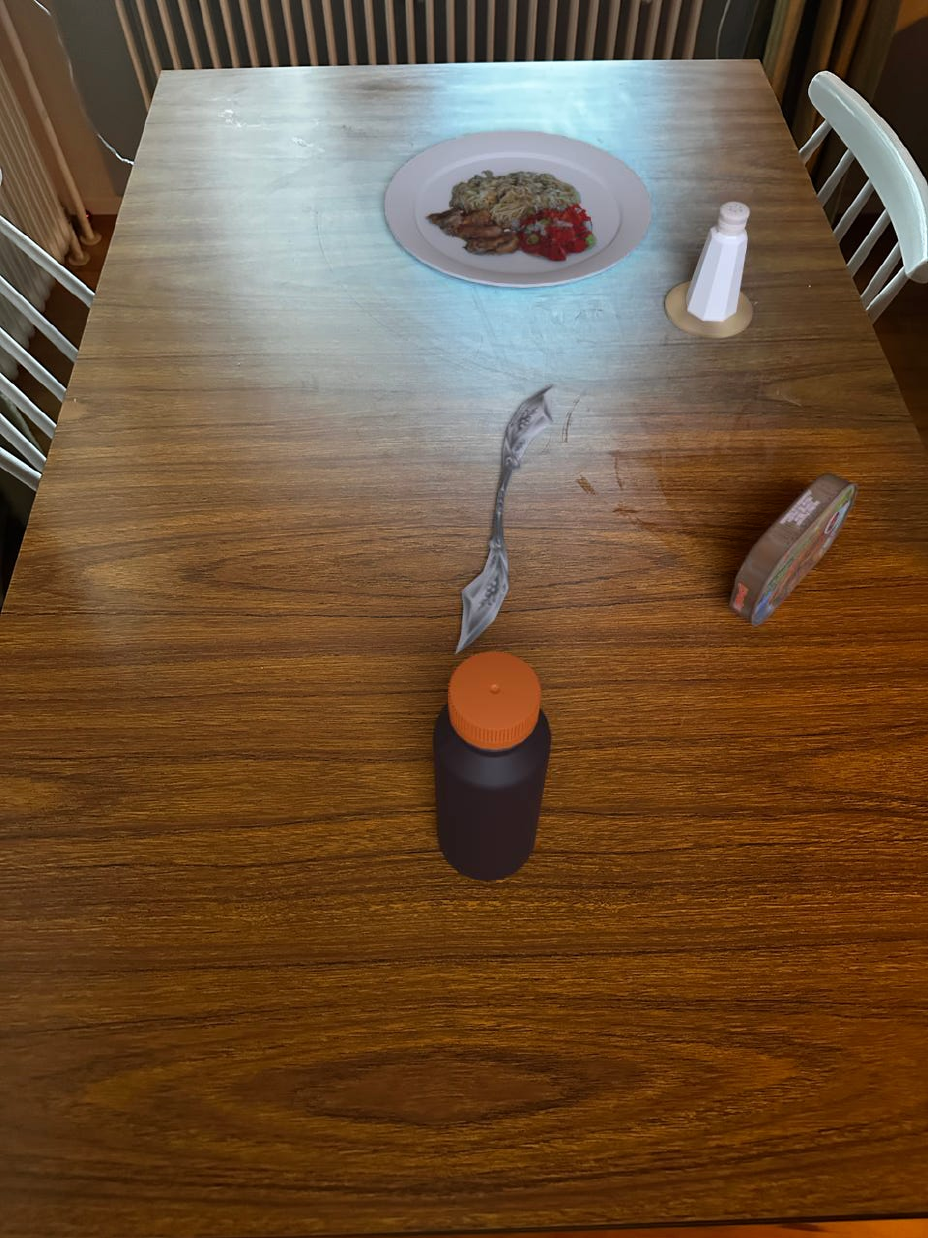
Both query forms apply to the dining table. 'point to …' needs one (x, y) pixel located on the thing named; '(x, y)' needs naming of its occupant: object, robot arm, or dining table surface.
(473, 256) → the plated food
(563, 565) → the dining table surface
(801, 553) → the tin
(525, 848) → the bottle
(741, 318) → the cork coaster
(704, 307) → the pepper shaker
